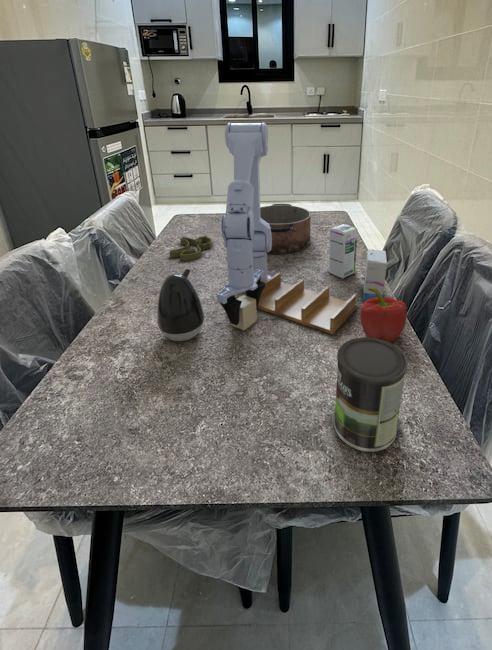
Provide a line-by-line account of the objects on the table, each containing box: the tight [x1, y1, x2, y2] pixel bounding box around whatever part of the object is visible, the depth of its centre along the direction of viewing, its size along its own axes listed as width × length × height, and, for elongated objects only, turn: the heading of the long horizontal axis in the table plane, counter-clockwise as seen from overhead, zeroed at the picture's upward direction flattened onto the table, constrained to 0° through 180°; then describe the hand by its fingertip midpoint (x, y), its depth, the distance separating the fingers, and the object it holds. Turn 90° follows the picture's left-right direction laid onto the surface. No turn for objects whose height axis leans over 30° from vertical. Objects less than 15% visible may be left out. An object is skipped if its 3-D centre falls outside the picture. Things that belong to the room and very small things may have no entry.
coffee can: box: [333, 336, 408, 453], centre depth 61 cm, size 10×10×14 cm
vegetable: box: [359, 287, 408, 343], centre depth 85 cm, size 11×10×10 cm
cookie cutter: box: [169, 235, 213, 261], centre depth 134 cm, size 18×12×2 cm, turn 175°
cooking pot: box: [260, 203, 312, 255], centre depth 137 cm, size 30×22×11 cm
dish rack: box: [257, 272, 358, 336], centre depth 97 cm, size 24×14×4 cm, turn 56°
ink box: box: [363, 248, 388, 303], centre depth 101 cm, size 9×5×12 cm, turn 168°
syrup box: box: [328, 223, 358, 279], centre depth 113 cm, size 6×6×14 cm
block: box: [230, 294, 258, 331], centre depth 91 cm, size 4×5×6 cm
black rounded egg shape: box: [156, 268, 205, 342], centre depth 85 cm, size 10×10×15 cm
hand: (243, 316), depth 91 cm, fingers open, 6 cm apart
